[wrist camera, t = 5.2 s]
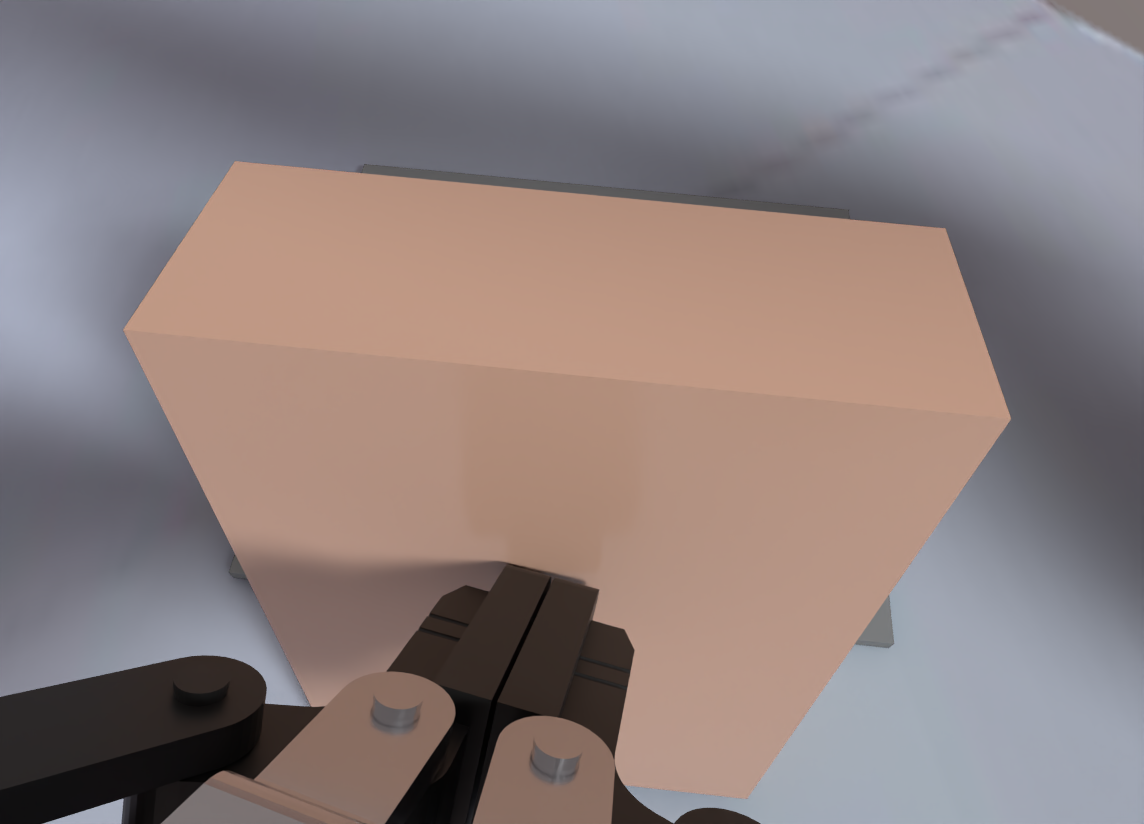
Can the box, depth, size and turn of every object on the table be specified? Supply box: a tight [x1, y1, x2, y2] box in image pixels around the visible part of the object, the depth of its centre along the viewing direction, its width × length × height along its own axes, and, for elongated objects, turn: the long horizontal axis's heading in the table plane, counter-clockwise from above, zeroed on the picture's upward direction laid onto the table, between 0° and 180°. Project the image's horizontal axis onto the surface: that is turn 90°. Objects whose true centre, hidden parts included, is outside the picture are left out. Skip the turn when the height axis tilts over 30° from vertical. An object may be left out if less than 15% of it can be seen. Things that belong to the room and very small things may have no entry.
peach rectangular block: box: [123, 161, 1011, 799], centre depth 16 cm, size 10×4×14 cm, turn 84°
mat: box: [229, 164, 894, 648], centre depth 26 cm, size 18×16×1 cm
